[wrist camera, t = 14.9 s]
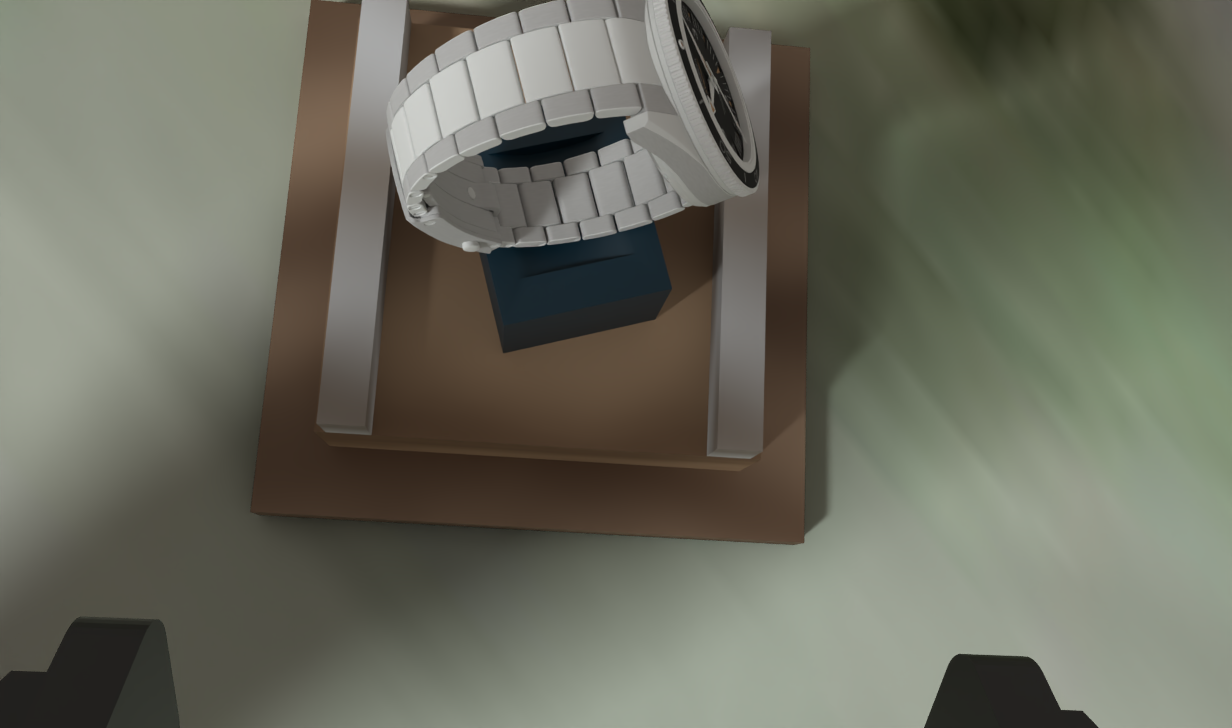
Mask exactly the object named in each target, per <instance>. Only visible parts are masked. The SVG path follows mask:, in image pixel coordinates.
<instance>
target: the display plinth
mask: <svg viewBox="0 0 1232 728" xmlns="http://www.w3.org/2000/svg"><path fill="white" fill-rule="evenodd" d="M495 18H496V17H486V16H476V15H465V14H455V13H445V12H434V11H424V10H414V9H409V3H408V0H362V4H352V3H342V2H332V1H321V0H311V6H310V15H309V23H308V31H307V40H306V48H305V57H304V65H303V73H302V82H301V90H300V99H299V107H298V115H297V124H296V132H295V141H294V149H293V157H292V166H291V174H290V183H289V191H288V199H287V208H286V216H285V225H284V233H283V242H282V250H281V258H280V267H279V275H278V284H277V292H276V300H275V309H274V317H273V326H272V334H271V342H270V351H269V359H268V368H267V376H266V384H265V393H264V401H263V410H262V418H261V426H260V435H259V443H258V452H257V460H256V468H255V477H254V485H253V494H252V502H251V510H250V512H252V513H255V514H258V515H268V516H286V517H304V518H322V519H340V520H358V521H376V522H394V523H412V524H430V525H447V526H465V527H483V528H501V529H519V530H537V531H555V532H573V533H591V534H609V535H627V536H645V537H662V538H680V539H698V540H716V541H734V542H752V543H770V544H788V545H795V544H800V543H804V511H805V428H806V345H807V262H808V179H809V95H810V48H805V47H794V46H784V45H774V44H771V31H766V30H756V29H746V28H736V27H729V30H728V32H727V35H726V37H725V40H722V39H721V40H722V42H723V45H724V47H725V49H726V52H727V54H728V57H729V59H730V61H731V64H732V67H733V69H734V72H735V74H736V77H737V80H738V83H739V86H740V88H741V91H742V94H743V97H744V101H745V104H746V107H747V110H748V114H749V117H750V121H751V125H752V129H753V133H754V137H755V142H756V147H757V153H758V160H759V185H758V189H757V190H756V192H755V193H753V194H750V195H747V196H745V197H740V196H738V195H737V196H735V197H732V198H730V199H727V200H724V201H722V202H719V203H717V204H714V205H710V206H707V207H703V206H693V205H692V206H690V207H685V209H684V210H683V211H680V212H678V213H675V214H673V215H670V216H668V217H665V218H662V219H659V220H656V221H654V223H655V227H656V230H657V234H658V238H659V242H660V245H661V249H662V253H663V256H664V260H665V264H666V267H667V271H668V275H669V279H670V282H671V286H672V290H671V292H670V294H669V296H668V297H667V299H666V301H665V303H664V305H663V306H662V308H661V310H660V312H659V314H658V315H657V317H656V319H655V320H651V321H647V322H642V323H638V324H633V325H629V326H624V327H620V328H615V329H611V330H606V331H602V332H597V333H593V334H588V335H584V336H579V337H575V338H571V339H566V340H562V341H557V342H553V343H548V344H544V345H539V346H535V347H530V348H526V349H521V350H517V351H512V352H508V353H503V351H502V347H501V342H500V338H499V334H498V330H497V326H496V321H495V317H494V313H493V309H492V305H491V301H490V296H489V292H488V288H487V284H486V280H485V275H484V271H483V267H482V263H481V259H480V255H479V252H477V251H475V252H467V251H464V250H463V248H460V247H457V246H453V245H450V244H447V243H445V242H442V241H440V240H438V239H436V238H434V237H432V236H430V235H428V234H426V233H424V232H423V231H421V230H419V229H418V228H416V227H415V226H413V225H412V224H411V223H410V222H408V221H407V220H406V218H405V215H404V212H403V208H402V205H401V202H400V198H399V195H398V191H397V187H396V184H395V180H394V176H393V171H392V167H391V162H390V157H389V151H388V145H387V138H386V129H387V128H388V122H387V121H388V120H387V114H386V112H387V106H388V103H389V102H390V98H391V96H392V94H393V92H394V91H395V89H396V87H397V86H398V85H399V83H400V82H401V81H402V80H403V79H405V78H407V77H406V76H407V74H408V73H409V72H410V71H411V70H412V69H413V68H414V67H415V66H416V65H418V64H419V63H420V62H421V61H422V60H424V59H425V58H426V57H427V56H429V55H430V54H435V51H436V49H438V48H439V47H440V46H442V45H443V44H445V43H446V42H448V41H450V40H451V39H453V38H455V37H456V36H458V35H460V34H462V33H464V32H466V31H468V30H471V31H473V32H474V28H476V27H478V26H480V25H482V24H484V23H486V22H488V21H491V20H493V19H495ZM519 21H520V20H519ZM520 25H521V21H520ZM521 29H522V25H521ZM522 33H523V29H522ZM558 34H559V32H558ZM559 38H560V36H559ZM560 41H561V39H560ZM561 45H562V43H561ZM511 49H512V45H511ZM562 49H563V47H562ZM512 53H513V49H512ZM563 53H564V51H563ZM513 57H514V53H513ZM564 57H565V55H564ZM514 61H515V57H514ZM565 61H566V58H565ZM515 64H516V61H515ZM566 64H567V62H566ZM516 68H517V65H516ZM567 68H568V66H567ZM517 72H518V69H517ZM568 72H569V70H568ZM518 76H519V73H518ZM569 76H570V74H569ZM519 80H520V77H519ZM570 80H571V77H570ZM571 83H572V81H571ZM520 84H521V81H520ZM572 87H573V85H572ZM521 88H522V84H521ZM573 91H574V89H573ZM522 92H523V88H522ZM523 96H524V92H523ZM524 100H525V96H524ZM525 104H526V100H525ZM629 118H631V117H630V116H626V120H627V119H629Z"/></svg>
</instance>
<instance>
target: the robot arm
mask: <svg viewBox="0 0 1232 728" xmlns="http://www.w3.org/2000/svg"><path fill="white" fill-rule="evenodd" d="M0 728H180V726H179V716H178V709H177V703H176V696H175V690H174V683H173V677H172V670H171V664H170V657H169V651H168V644H167V638H166V632H165V628H164V625H163V623H162V622H161V621H160V620H154V619H128V618H103V617H79V618H77V619H76V620H75V621H74V622H73V623H72V624H71V626H70V627H69V629H68V630H67V632H66V634H65V636H64V638H63V640H62V642H61V644H60V646H59V648H58V650H57V652H56V654H55V656H54V658H53V660H52V662H51V664H50V667H49V669H48V671H47V672H27V671H11V672H9V673H8V674H7V675H6V676H5V677H4V678H3V679H2V680H1V681H0ZM924 728H1098V727H1097V726H1096V725H1095V723H1094V722H1093V721H1092V720H1091V719H1090V718H1089V717H1088V716H1087V715H1086V714H1085V713H1084V712H1083V711H1073V710H1061V709H1060V707H1059V705H1058V703H1057V701H1056V699H1055V697H1054V695H1053V693H1052V691H1051V688H1050V686H1049V684H1048V682H1047V680H1046V678H1045V676H1044V674H1043V672H1042V670H1041V669H1040V667H1039V666H1038V664H1037V663H1036V662H1035V661H1034V660H1033V659H1031V658H1029V657H1024V656H999V655H973V654H958V655H956V656H954V657H953V658H952V660H951V661H950V663H949V665H948V667H947V670H946V672H945V675H944V678H943V680H942V683H941V685H940V688H939V691H938V693H937V696H936V698H935V701H934V703H933V706H932V709H931V711H930V714H929V716H928V719H927V722H926V724H925V727H924Z"/></svg>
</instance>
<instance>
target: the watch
mask: <svg viewBox="0 0 1232 728" xmlns="http://www.w3.org/2000/svg"><path fill="white" fill-rule="evenodd" d="M566 7H567V9H566ZM567 11H568V12H567ZM518 14H519V17H520V21H521V25H522V29H523V33H522V29H521V25H520V21H519V17H518ZM518 14H517V13H516V12H511V13H508V14H506V15H503V16H500V17H498V18H495V19H493V20H491V21H488V22H486V23H484V24H482V25H480V26H478V27H476V28H474V32H473V31H471V30H468V31H466V32H464V33H462V34H460V35H458V36H456V37H455V38H453V39H451V40H450V41H448V42H446V43H445V44H443V45H442V46H440V47H439V48H438V49H436V51H435V54H430V55H429V56H427V57H426V58H425V59H424V60H422V61H421V62H420V63H419V64H418V65H416V66H415V67H414V68H413V69H412V70H411V71H410V72H409V73H408V74H407V76H406V77H407V78H405V79H403V80H402V81H401V82H400V83H399V85H398V86H397V87H396V89H395V91H394V92H393V94H392V96H391V98H390V102H389V103H388V106H387V112H386V114H387V120H388V121H387V122H388V128H387V129H386V138H387V145H388V151H389V157H390V162H391V167H392V171H393V176H394V180H395V184H396V187H397V191H398V195H399V198H400V202H401V205H402V208H403V212H404V215H405V218H406V220H407V221H408V222H410V223H411V224H412V225H413V226H415V227H416V228H418V229H419V230H421V231H423V232H424V233H426V234H428V235H430V236H432V237H434V238H436V239H438V240H440V241H442V242H445V243H447V244H450V245H453V246H457V247H460V248H463V250H464V251H467V252H475V251H477V252H479V255H480V259H481V263H482V267H483V271H484V275H485V280H486V284H487V288H488V292H489V296H490V301H491V305H492V309H493V313H494V317H495V321H496V326H497V330H498V334H499V338H500V342H501V347H502V351H503V353H508V352H512V351H517V350H521V349H526V348H530V347H535V346H539V345H544V344H548V343H553V342H557V341H562V340H566V339H571V338H575V337H579V336H584V335H588V334H593V333H597V332H602V331H606V330H611V329H615V328H620V327H624V326H629V325H633V324H638V323H642V322H647V321H651V320H655V319H656V317H657V315H658V314H659V312H660V310H661V308H662V306H663V305H664V303H665V301H666V299H667V297H668V296H669V294H670V292H671V290H672V286H671V282H670V279H669V275H668V271H667V267H666V264H665V260H664V256H663V253H662V249H661V245H660V242H659V238H658V234H657V230H656V227H655V223H654V221H656V220H659V219H662V218H665V217H668V216H670V215H673V214H675V213H678V212H680V211H683V210H684V209H685V207H690V206H692V205H693V206H703V207H707V206H710V205H714V204H717V203H719V202H722V201H724V200H727V199H730V198H732V197H735V196H737V195H738V196H740V197H745V196H747V195H750V194H753V193H755V192H756V190H757V189H758V185H759V160H758V153H757V147H756V142H755V137H754V133H753V129H752V125H751V121H750V117H749V114H748V110H747V107H746V104H745V101H744V97H743V94H742V91H741V88H740V86H739V83H738V80H737V77H736V74H735V72H734V69H733V67H732V64H731V61H730V59H729V57H728V54H727V52H726V49H725V47H724V45H723V42H722V40H721V38H720V36H719V34H718V31H717V29H716V27H715V25H714V23H713V21H712V19H711V17H710V15H709V13H708V12H707V10H706V8H705V6H704V4H703V3H702V1H701V0H567V1H566V5H565V1H564V0H556V1H551V2H547V3H543V4H539V5H536V6H532V7H529V8H526V9H523V10H520V11H519V13H518ZM568 15H569V16H568ZM569 19H570V20H569ZM558 32H559V34H558ZM559 36H560V38H559ZM560 39H561V41H560ZM561 43H562V45H561ZM511 45H512V49H513V53H514V57H515V61H516V64H515V61H514V57H513V53H512V49H511ZM562 47H563V49H562ZM563 51H564V53H563ZM564 55H565V57H564ZM565 58H566V61H565ZM566 62H567V64H566ZM516 65H517V68H516ZM567 66H568V68H567ZM517 69H518V72H517ZM568 70H569V72H568ZM518 73H519V76H518ZM569 74H570V76H569ZM519 77H520V80H519ZM570 77H571V80H570ZM520 81H521V84H522V88H523V92H524V96H525V100H526V104H525V100H524V96H523V92H522V88H521V84H520ZM571 81H572V83H571ZM572 85H573V87H572ZM573 89H574V91H573ZM626 116H630V117H631V118H629V119H627V120H626Z"/></svg>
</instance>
